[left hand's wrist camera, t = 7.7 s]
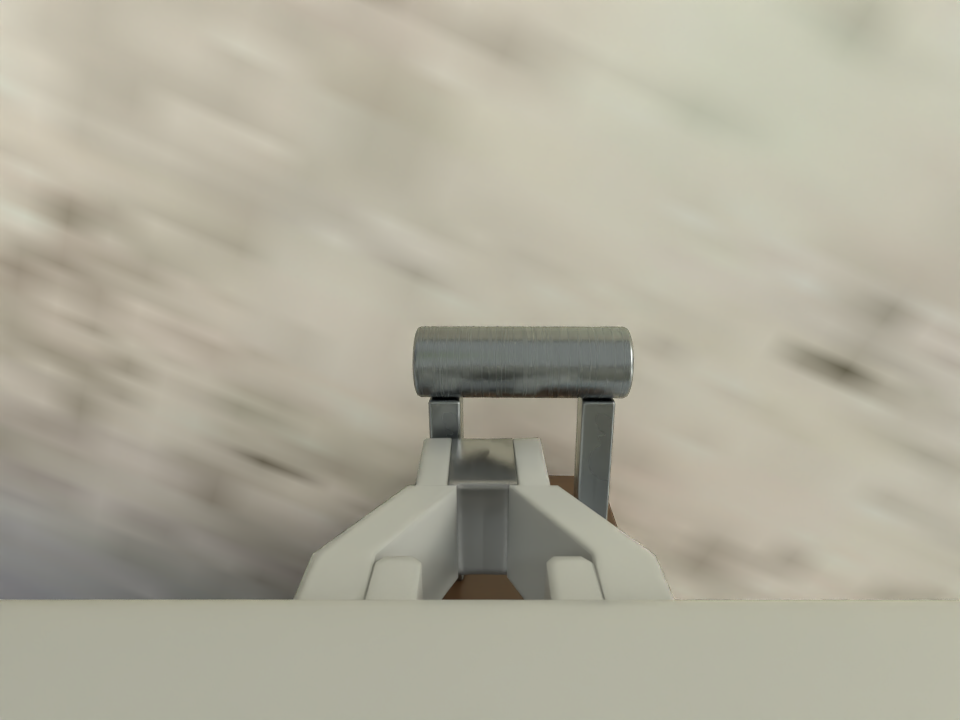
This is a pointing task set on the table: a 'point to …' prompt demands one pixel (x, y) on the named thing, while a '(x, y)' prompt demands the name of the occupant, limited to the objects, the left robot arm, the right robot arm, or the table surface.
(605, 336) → the drawer
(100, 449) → the table surface
